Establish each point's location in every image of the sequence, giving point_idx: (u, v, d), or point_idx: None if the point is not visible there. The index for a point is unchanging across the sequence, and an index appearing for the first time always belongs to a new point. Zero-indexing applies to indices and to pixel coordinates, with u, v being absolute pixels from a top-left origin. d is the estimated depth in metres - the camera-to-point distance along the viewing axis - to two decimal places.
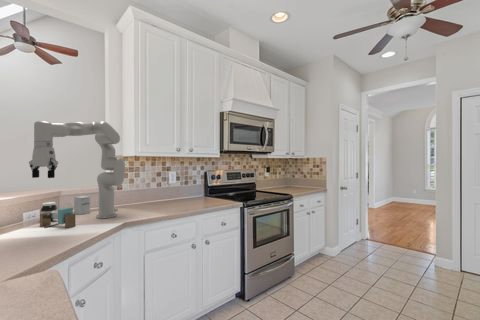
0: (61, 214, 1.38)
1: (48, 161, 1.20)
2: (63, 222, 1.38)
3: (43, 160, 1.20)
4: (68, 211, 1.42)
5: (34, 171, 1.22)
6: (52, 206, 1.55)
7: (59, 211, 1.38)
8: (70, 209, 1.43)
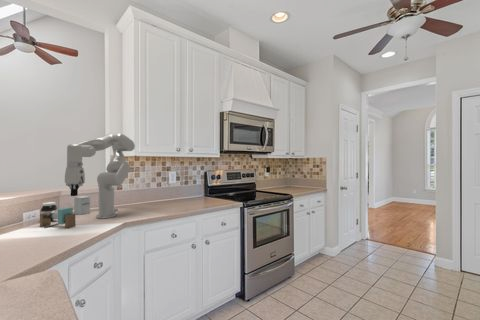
0: (61, 214, 1.38)
1: (79, 179, 1.37)
2: (63, 222, 1.38)
3: (75, 178, 1.37)
4: (68, 211, 1.42)
5: None
6: (52, 206, 1.55)
7: (59, 211, 1.38)
8: (70, 209, 1.43)
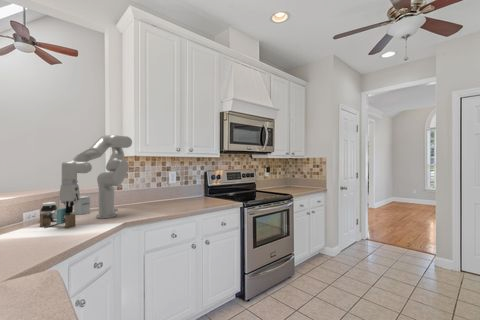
0: (60, 214, 1.38)
1: (74, 197, 1.38)
2: (62, 222, 1.38)
3: (69, 196, 1.38)
4: None
5: None
6: (52, 206, 1.55)
7: (58, 211, 1.38)
8: None
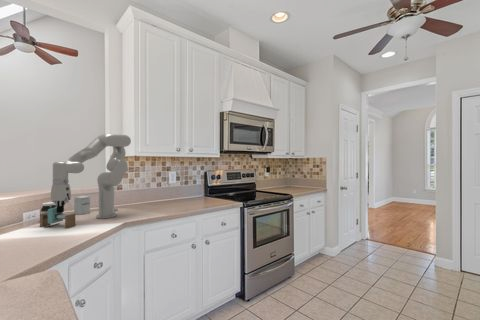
0: (51, 213, 1.39)
1: (65, 196, 1.40)
2: (53, 221, 1.40)
3: (60, 196, 1.39)
4: None
5: None
6: (52, 206, 1.55)
7: (49, 210, 1.39)
8: None
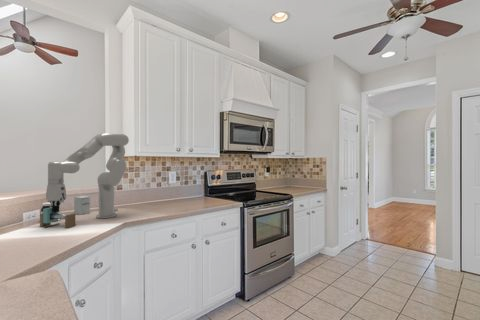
0: (46, 213, 1.40)
1: (60, 196, 1.40)
2: (48, 221, 1.40)
3: (56, 195, 1.40)
4: None
5: None
6: None
7: (44, 210, 1.40)
8: None
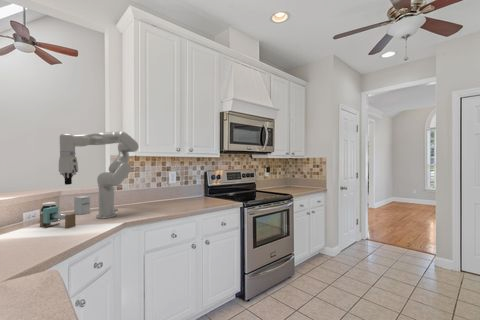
0: (46, 213, 1.40)
1: (72, 168, 1.40)
2: (48, 221, 1.40)
3: (68, 167, 1.40)
4: (53, 210, 1.43)
5: None
6: (52, 206, 1.55)
7: (44, 210, 1.40)
8: (56, 208, 1.45)
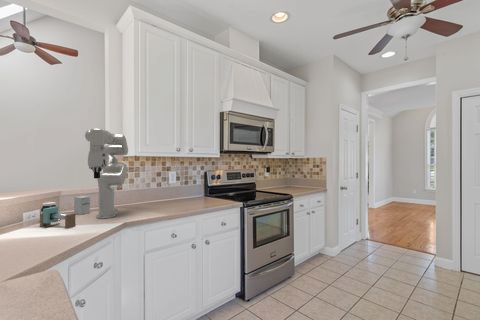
0: (46, 213, 1.40)
1: (102, 162, 1.43)
2: (48, 221, 1.40)
3: (98, 161, 1.43)
4: (53, 210, 1.43)
5: None
6: (52, 206, 1.55)
7: (44, 210, 1.40)
8: (56, 208, 1.45)
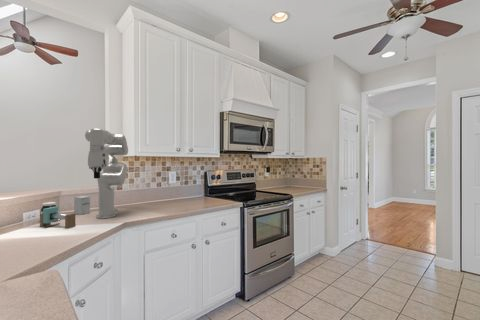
0: (46, 213, 1.40)
1: (102, 162, 1.43)
2: (48, 221, 1.40)
3: (98, 161, 1.43)
4: (53, 210, 1.43)
5: None
6: (52, 206, 1.55)
7: (44, 210, 1.40)
8: (56, 208, 1.45)
